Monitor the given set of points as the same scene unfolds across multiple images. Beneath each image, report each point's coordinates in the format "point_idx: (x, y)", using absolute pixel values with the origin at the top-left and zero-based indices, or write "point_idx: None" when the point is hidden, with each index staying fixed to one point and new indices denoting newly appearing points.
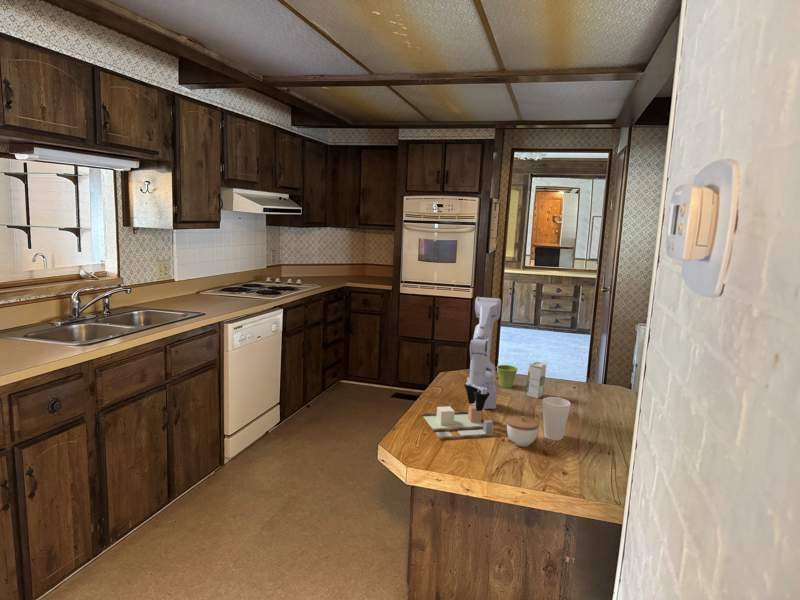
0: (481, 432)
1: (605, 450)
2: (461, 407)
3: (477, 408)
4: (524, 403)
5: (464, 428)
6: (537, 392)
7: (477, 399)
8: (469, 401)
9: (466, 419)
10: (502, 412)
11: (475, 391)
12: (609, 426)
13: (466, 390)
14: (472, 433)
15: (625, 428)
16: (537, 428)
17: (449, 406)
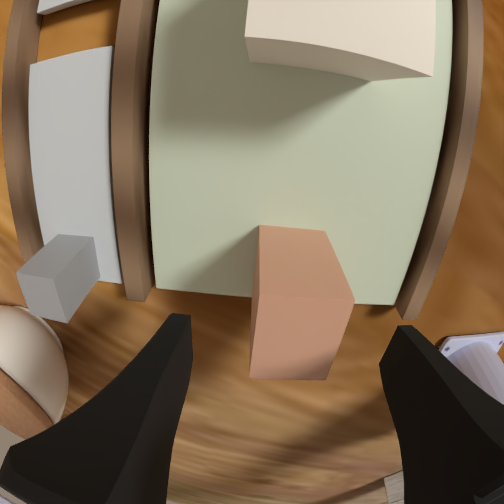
0: (70, 215)
1: None
2: (499, 287)
3: (160, 333)
4: (379, 461)
5: (113, 108)
6: (388, 490)
7: (75, 419)
8: (405, 342)
9: (322, 217)
10: (357, 414)
11: (413, 468)
12: (179, 496)
13: (498, 410)
14: (58, 148)
15: (168, 499)
16: None
17: (427, 65)
